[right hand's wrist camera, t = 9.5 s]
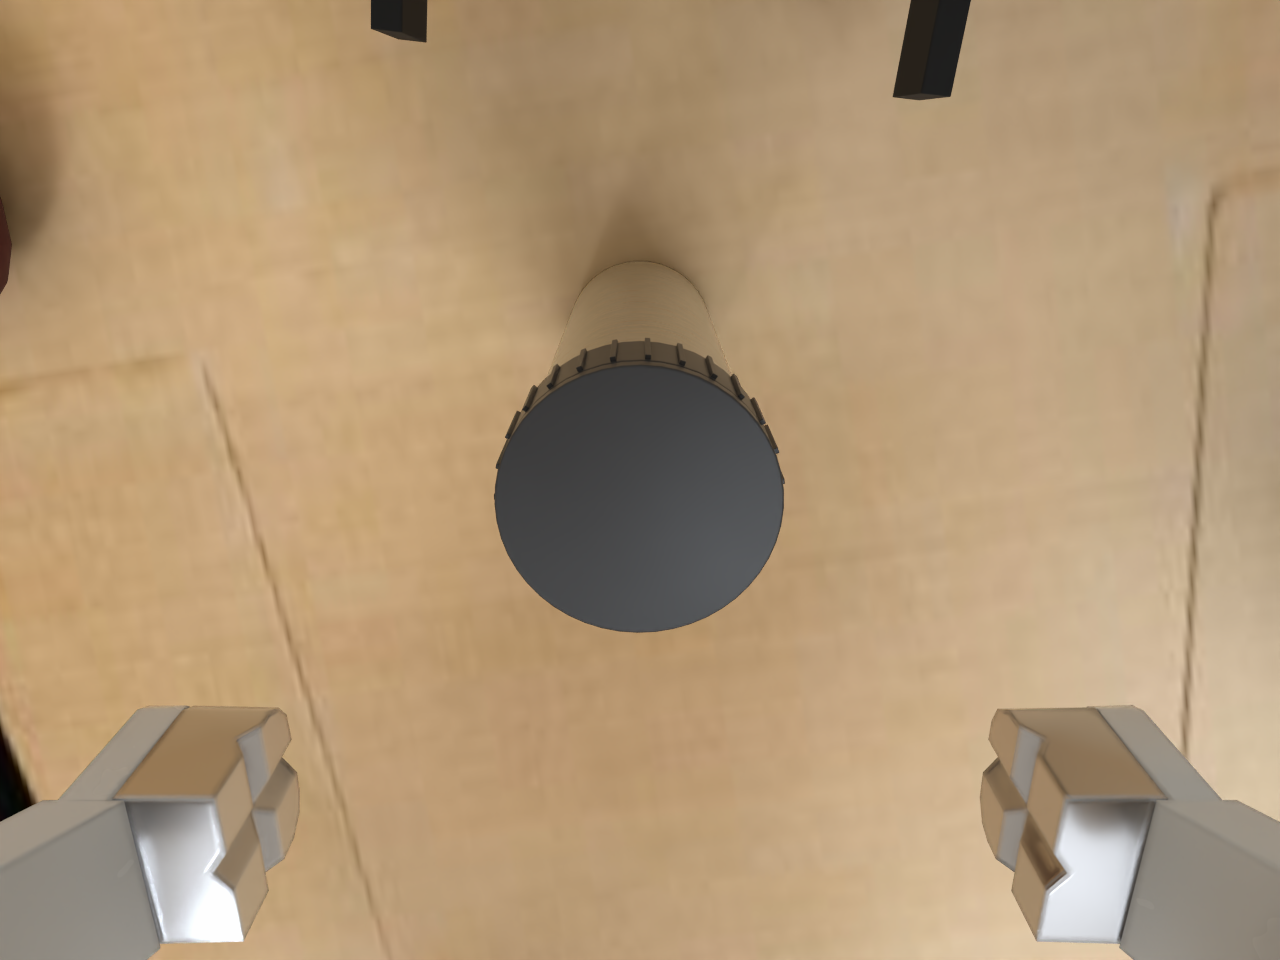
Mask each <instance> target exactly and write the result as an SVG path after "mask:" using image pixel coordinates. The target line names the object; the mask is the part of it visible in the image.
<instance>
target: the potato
mask: <svg viewBox="0 0 1280 960" xmlns="http://www.w3.org/2000/svg"><path fill="white" fill-rule="evenodd" d="M11 246H12V243H11V239H10V235H9V230H8V226H7V222H6V217H5V213H4V209H3V204H2V200H1V198H0V294H1V292H2V290H3V289H4V287H5V285H6V284H7V280H8V274H9V265H10V256H11Z"/></svg>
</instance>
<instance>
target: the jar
mask: <svg viewBox="0 0 1280 960" xmlns="http://www.w3.org/2000/svg"><path fill="white" fill-rule="evenodd" d="M645 338H650V342H660V343H665V344H669V345H674V346H676V345H677V343H680V344H682V345H683V348H684V349H686V350H689V351H692V352H695V353H697V354H698V355H700V356H702V357H704V358H706V357H707V355H709V356H710V357H712V359H713V362H714V364H716V365H717V366H719V367H720V368H722V369H723V370H724V371H725V372H727V373H728V374H729V375H730V376H732V375H731V372H730V370H729V367H728V364H727V362H726V359H725V356H724V354H723V351H722V348H721V346H720V343H719V340H718V338H717V335H716V332H715V330H714V327H713V324H712V322H711V319H710V316H709V314H708V311H707V308H706V306H705V304H704V301H703V299H702V297H701V296H700V294H699V293H698V291H697V290H696V288H695V287H694V286H693V285H692V284H691V283H690V282H689V281H688V280H687V279H686V278H685V277H684V276H682V275H681V274H680V273H678V272H677V271H675V270H673V269H671V268H669V267H667V266H664V265H661V264H658V263H653V262H646V261H633V262H626V263H621V264H618V265H615V266H613V267H611V268H609V269H606V270H604V271H603V272H601V273H600V274H598V275H597V276H596V277H595V278H593V279H592V280H591V281H590V282H589V283H588V284H587V285H586V287H585V288H584V289H583V290H582V292H581V293H580V295H579V296H578V298H577V300H576V303H575V305H574V307H573V310H572V312H571V315H570V318H569V320H568V323H567V326H566V328H565V331H564V333H563V336H562V339H561V341H560V344H559V347H558V349H557V352H556V354H555V357H554V360H553V362H552V365H551V368H550V370H549V373H548V375H547V377H548V376H549V375H550V374H551V372H552V369H553V366H555V365H556V364H558V365H559V366H561V365H563V364H564V363H566V362H567V361H569V360H571V359H572V358H574V357H576V356H578V355H580V352H581V350H582V349H584V348H586V350H587V351H589V350H592V349H595V348H598V347H601V346H604V345H609V344H612V340H615V339H617V340H618V343H620V342H631V341H645Z"/></svg>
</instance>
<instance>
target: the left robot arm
mask: <svg viewBox="0 0 1280 960" xmlns="http://www.w3.org/2000/svg"><path fill="white" fill-rule="evenodd" d="M970 2H971V0H911V4H910V9H909V14H908V19H907V25H906V30H905V35H904V40H903V46H902V51H901V56H900V62H899V67H898V72H897V77H896V83H895V88H894V93H893V97H897V98H905V99H914V100H925V99H934V98H943V97H950V96H951V92H952V87H953V82H954V77H955V73H956V68H957V63H958V58H959V54H960V49H961V44H962V39H963V35H964V30H965V25H966V21H967V16H968V11H969V6H970ZM371 29H373V30H376V31H379V32H381V33H384V34H386V35H389V36H392V37H394V38H397V39H401V40H410V41H418V42H426V34H427V0H371Z"/></svg>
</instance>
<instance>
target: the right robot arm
mask: <svg viewBox="0 0 1280 960" xmlns="http://www.w3.org/2000/svg"><path fill="white" fill-rule="evenodd" d="M291 740H292V739H291V734H290V729H289V725H288V720H287V715H286V714H285V713H284V712H283V711H282V710H281V709H280V708H271V707H223V706H192V707H189V706H147V707H144V708H141V709H138V710H137V711H136V712H135V713H134V714H133V715H132V716H131V717H130V719H129V720H128V721H127V722H126V723H125V724H124V725H123V726H122V728H121V729H120V730H119V731H118V732H117V733H116V734H115V736H114V737H113V738H112V739H111V740H110V741H109V742H108V744H107V745H106V746H105V747H104V748H103V749H102V750H101V751H100V753H99V754H98V755H97V756H96V757H95V758H94V759H93V761H92V762H91V763H90V764H89V765H88V766H87V767H86V769H85V770H84V771H83V772H82V773H81V774H80V775H79V776H78V778H77V779H76V780H75V781H74V782H73V783H72V784H71V786H70V787H69V788H68V789H67V790H66V791H65V792H64V794H63V795H62V796H61V797H60V798H59V799H58V800H43V801H41V802H39V803H37V804H35V805H33V806H31V807H29V808H27V809H25V810H23V811H21V812H19V813H17V814H15V815H13V816H11V817H9V818H7V819H5V820H3V821H1V822H0V960H147V959H148V958H149V957H151V956H152V955H153V954H154V953H155V952H157V951H158V950H159V949H160V944H167V943H201V942H235V941H244V939H245V937H246V935H247V933H248V931H249V929H250V927H251V925H252V923H253V921H254V919H255V917H256V915H257V913H258V911H259V909H260V907H261V905H262V903H263V901H264V899H265V897H266V895H267V893H268V891H269V890H268V884H267V879H266V873H265V872H267V871H268V870H269V869H271V868H272V867H273V866H275V865H276V864H278V863H279V862H280V861H282V860H283V859H284V858H285V856H286V854H287V852H288V850H289V847H290V845H291V843H292V841H293V839H294V835H295V830H296V825H297V821H298V816H299V806H300V789H299V783H298V776H297V772H296V771H295V770H294V769H293V768H292V767H291V766H290V765H289V764H288V763H287V762H286V761H285V760H284V759H283V758H282V756H283V754H284V752H285V750H286V749H287V747H288V745H289V743H290V741H291ZM988 740H989V741H990V743H991V745H992V747H993V749H994V750H995V752H996V754H997V756H998V758H997V759H996V760H995V761H994V762H993V763H992V764H991V765H990V766H989V767H988V768H987V769H986V770H985V771H984V772H983V777H982V785H981V793H980V804H981V815H982V824H983V827H984V831H985V834H986V838H987V841H988V843H989V845H990V847H991V850H992V852H993V854H994V856H995V858H996V859H997V860H998V861H1000V862H1001V863H1002V864H1004V865H1005V866H1007V867H1008V868H1009V869H1011V870H1012V871H1014V872H1015V873H1014V879H1013V885H1012V890H1011V891H1012V893H1013V895H1014V897H1015V899H1016V901H1017V903H1018V905H1019V907H1020V909H1021V911H1022V913H1023V915H1024V917H1025V919H1026V921H1027V923H1028V925H1029V927H1030V929H1031V931H1032V933H1033V935H1034V937H1035V939H1036V941H1042V942H1077V943H1113V944H1120V947H1119V948H1120V949H1122V950H1123V951H1124V952H1125V953H1126V954H1127V955H1129V956H1130V957H1131V958H1132V959H1133V960H1280V822H1279V821H1277V820H1275V819H1273V818H1271V817H1269V816H1267V815H1265V814H1263V813H1261V812H1259V811H1257V810H1255V809H1253V808H1251V807H1249V806H1247V805H1245V804H1243V803H1241V802H1239V801H1237V800H1222V799H1221V798H1220V797H1219V796H1218V795H1217V794H1216V792H1215V791H1214V790H1213V789H1212V788H1211V787H1210V786H1209V784H1208V783H1207V782H1206V781H1205V780H1204V779H1203V778H1202V776H1201V775H1200V774H1199V773H1198V772H1197V771H1196V770H1195V769H1194V767H1193V766H1192V765H1191V764H1190V763H1189V762H1188V761H1187V759H1186V758H1185V757H1184V756H1183V755H1182V754H1181V753H1180V752H1179V750H1178V749H1177V748H1176V747H1175V746H1174V745H1173V744H1172V742H1171V741H1170V740H1169V739H1168V738H1167V737H1166V736H1165V734H1164V733H1163V732H1162V731H1161V730H1160V729H1159V728H1158V727H1157V725H1156V724H1155V723H1154V722H1153V721H1152V720H1151V719H1150V717H1149V716H1148V715H1147V714H1146V713H1145V712H1144V711H1143V710H1141V709H1139V708H1137V707H1135V706H1133V705H1119V706H1088V707H1087V708H1020V709H997V711H996V713H995V715H994V717H993V719H992V723H991V728H990V734H989V739H988Z"/></svg>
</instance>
